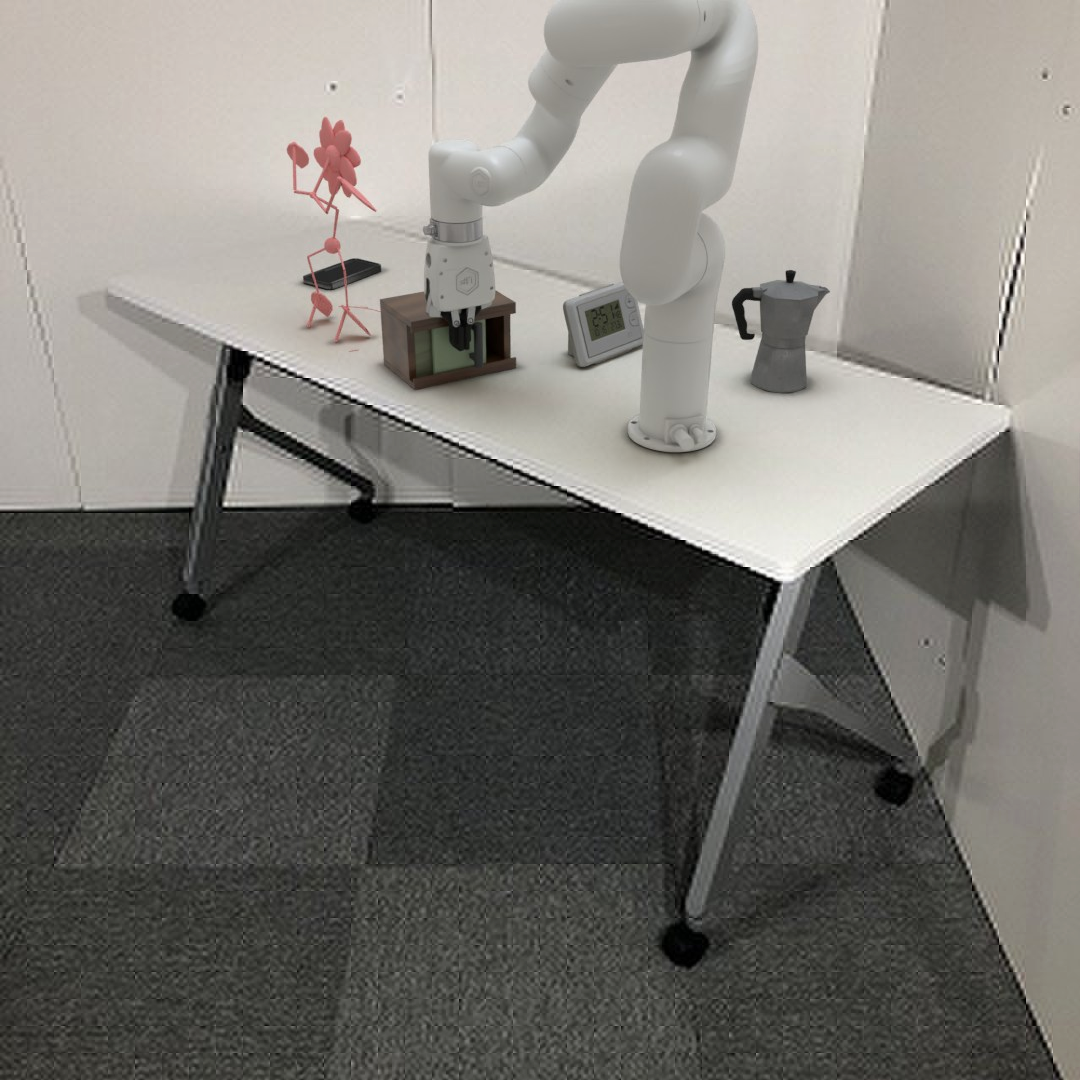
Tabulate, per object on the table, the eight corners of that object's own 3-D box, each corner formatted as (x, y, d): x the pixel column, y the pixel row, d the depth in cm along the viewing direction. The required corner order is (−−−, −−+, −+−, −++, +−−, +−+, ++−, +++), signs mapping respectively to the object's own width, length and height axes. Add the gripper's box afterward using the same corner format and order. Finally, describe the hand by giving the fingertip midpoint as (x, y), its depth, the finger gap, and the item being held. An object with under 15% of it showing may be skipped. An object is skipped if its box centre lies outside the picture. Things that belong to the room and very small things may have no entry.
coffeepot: (806, 367, 194) (820, 258, 185) (829, 390, 186) (844, 277, 177) (715, 374, 191) (724, 263, 182) (734, 397, 183) (745, 283, 174)
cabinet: (516, 367, 193) (515, 302, 188) (414, 389, 185) (411, 321, 180) (482, 344, 202) (480, 281, 196) (383, 364, 194) (379, 299, 189)
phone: (383, 264, 235) (329, 284, 225) (383, 270, 236) (330, 290, 225) (353, 257, 239) (299, 276, 229) (354, 262, 240) (300, 282, 229)
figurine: (357, 358, 196) (340, 138, 179) (279, 316, 213) (257, 111, 196) (434, 337, 205) (425, 125, 187) (353, 298, 222) (338, 100, 204)
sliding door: (495, 371, 188) (495, 320, 184) (444, 382, 185) (442, 331, 180) (484, 363, 191) (482, 313, 187) (433, 374, 188) (430, 322, 183)
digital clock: (578, 372, 192) (579, 308, 186) (547, 354, 198) (547, 292, 193) (658, 351, 200) (661, 289, 194) (625, 335, 206) (627, 275, 201)
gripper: (421, 243, 169) (427, 365, 178) (514, 228, 175) (514, 346, 185) (399, 229, 174) (405, 348, 184) (490, 216, 181) (491, 331, 190)
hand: (460, 347), depth 184 cm, fingers closed
